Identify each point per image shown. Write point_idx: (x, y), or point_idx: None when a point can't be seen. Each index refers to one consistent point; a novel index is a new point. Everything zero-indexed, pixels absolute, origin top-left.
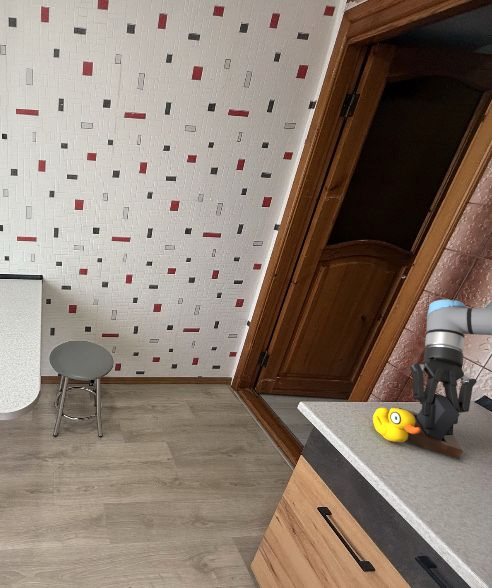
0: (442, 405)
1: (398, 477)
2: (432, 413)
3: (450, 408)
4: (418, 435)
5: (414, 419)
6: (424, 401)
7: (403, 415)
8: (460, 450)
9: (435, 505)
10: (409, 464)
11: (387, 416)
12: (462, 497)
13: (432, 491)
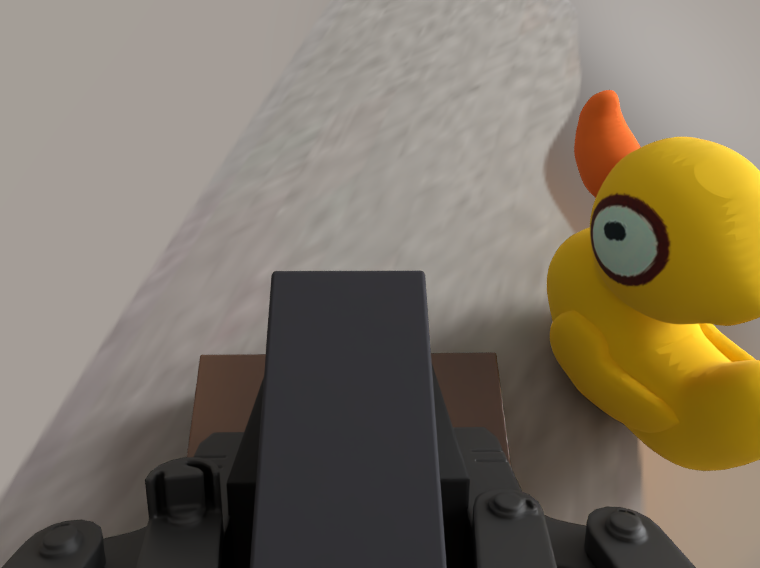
0: (418, 366)
1: (567, 88)
2: (442, 413)
3: (333, 355)
4: (468, 355)
5: (639, 159)
6: (546, 516)
7: (724, 148)
8: (216, 358)
9: (459, 27)
10: (510, 187)
11: (710, 370)
12: (338, 105)
13: (450, 81)
